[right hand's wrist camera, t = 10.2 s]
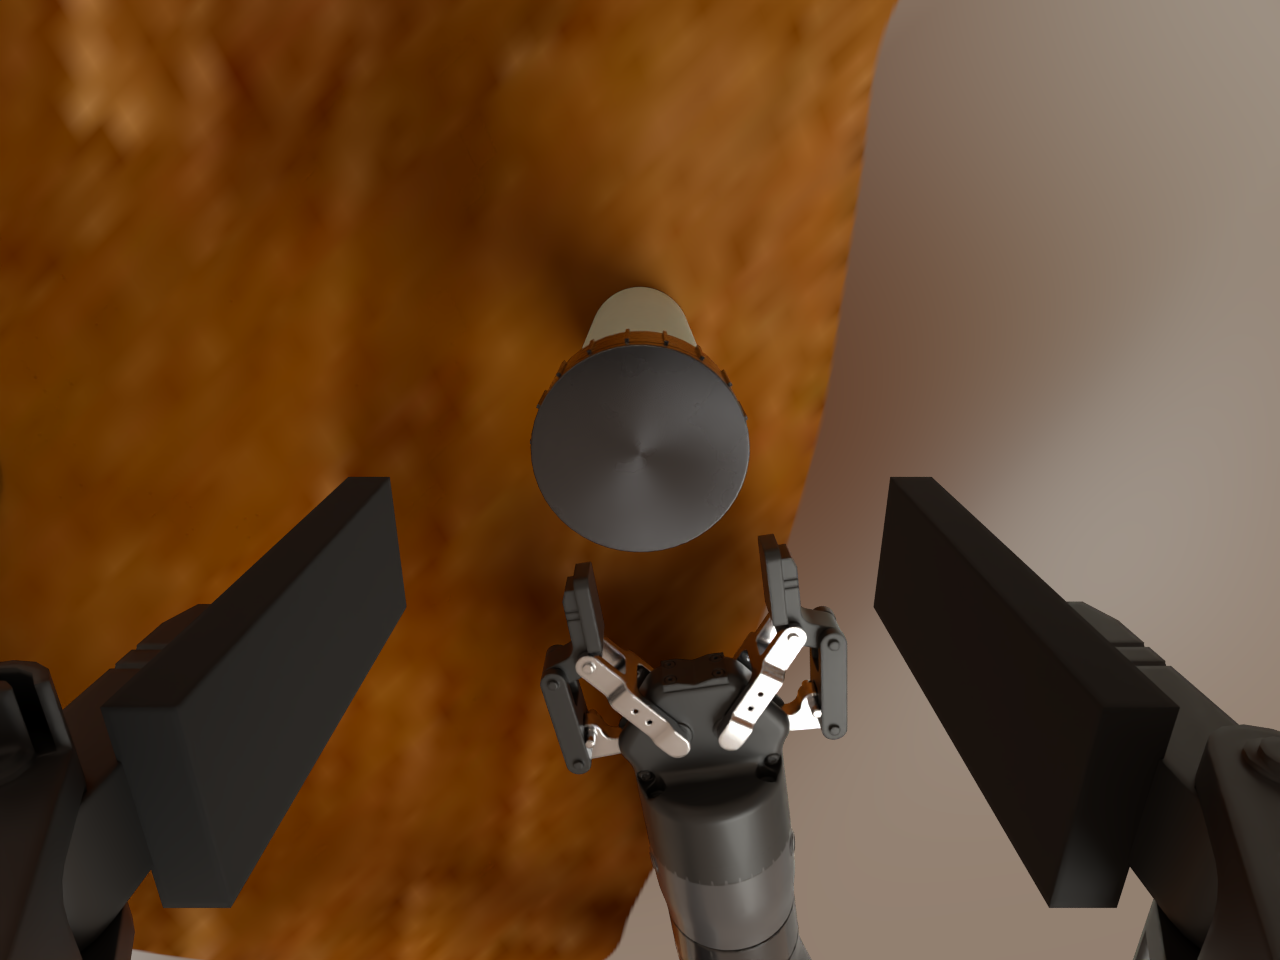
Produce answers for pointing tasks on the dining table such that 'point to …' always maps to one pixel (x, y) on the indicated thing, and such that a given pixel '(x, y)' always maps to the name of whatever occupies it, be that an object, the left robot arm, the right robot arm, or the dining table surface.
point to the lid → (640, 442)
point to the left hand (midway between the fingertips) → (674, 555)
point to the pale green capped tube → (640, 315)
